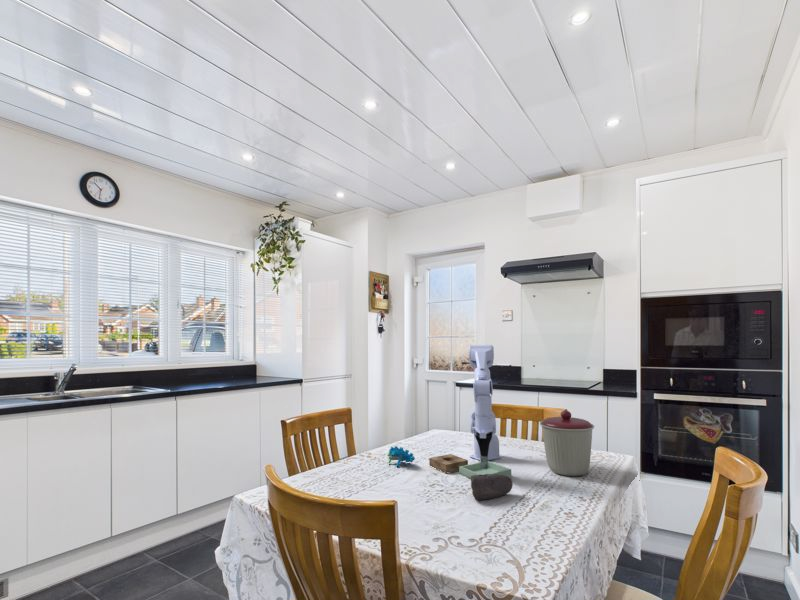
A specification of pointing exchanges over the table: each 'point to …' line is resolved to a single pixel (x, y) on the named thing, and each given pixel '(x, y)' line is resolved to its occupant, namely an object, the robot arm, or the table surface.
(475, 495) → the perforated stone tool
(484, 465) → the pin
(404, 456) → the blue bumpy piece
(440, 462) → the block
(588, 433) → the canister
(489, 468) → the tray
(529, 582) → the table surface
